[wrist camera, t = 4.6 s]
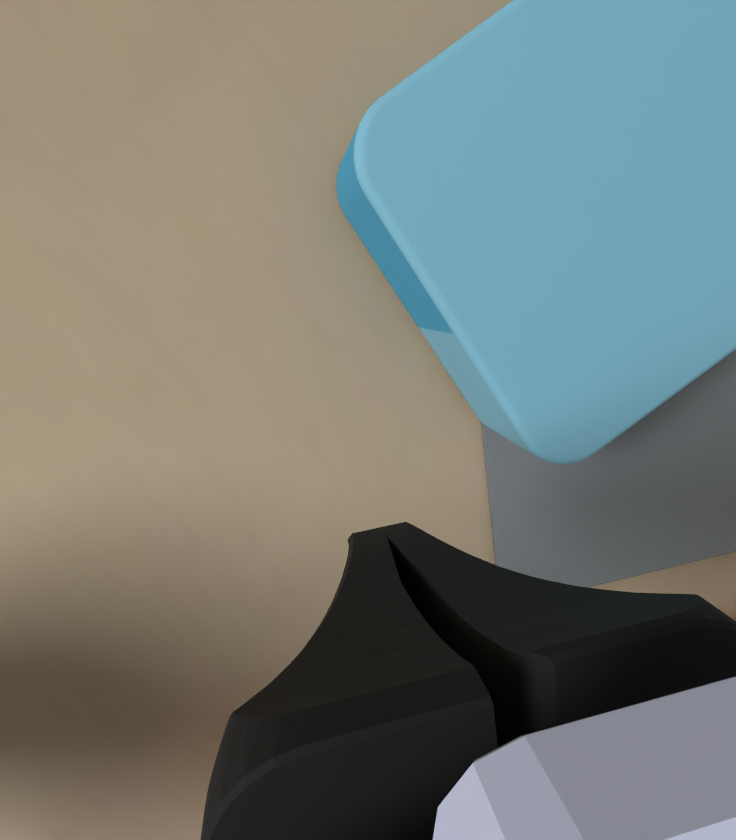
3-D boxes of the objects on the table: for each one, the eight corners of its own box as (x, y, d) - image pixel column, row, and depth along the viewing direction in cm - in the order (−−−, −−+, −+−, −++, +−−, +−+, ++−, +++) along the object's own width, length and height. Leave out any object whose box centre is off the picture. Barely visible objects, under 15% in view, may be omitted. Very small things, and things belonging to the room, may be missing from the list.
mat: (499, 604, 23) (502, 608, 23) (459, 212, 19) (462, 211, 19) (857, 517, 25) (864, 519, 25) (887, 152, 21) (895, 150, 21)
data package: (496, 448, 21) (741, 268, 21) (554, 487, 17) (861, 260, 17) (315, 173, 18) (605, -39, 18) (328, 132, 13) (712, -148, 13)
